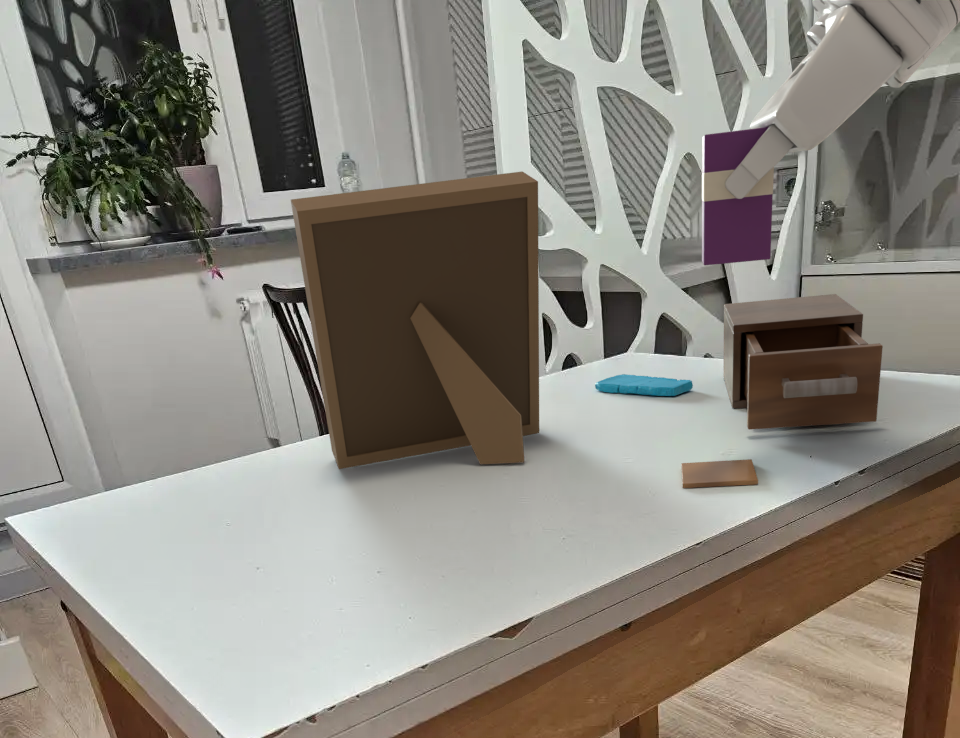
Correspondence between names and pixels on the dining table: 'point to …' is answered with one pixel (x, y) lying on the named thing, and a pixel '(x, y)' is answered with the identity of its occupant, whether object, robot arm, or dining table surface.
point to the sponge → (644, 385)
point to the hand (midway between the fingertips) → (728, 192)
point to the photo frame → (425, 316)
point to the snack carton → (733, 202)
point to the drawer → (810, 377)
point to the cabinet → (773, 318)
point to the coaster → (718, 473)
